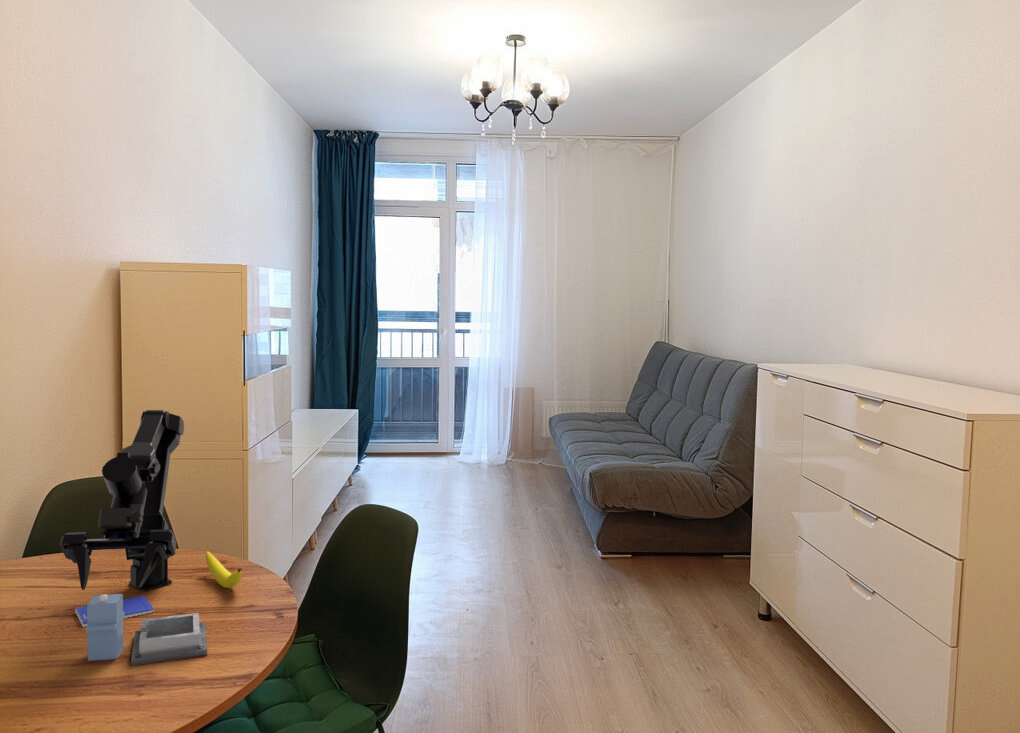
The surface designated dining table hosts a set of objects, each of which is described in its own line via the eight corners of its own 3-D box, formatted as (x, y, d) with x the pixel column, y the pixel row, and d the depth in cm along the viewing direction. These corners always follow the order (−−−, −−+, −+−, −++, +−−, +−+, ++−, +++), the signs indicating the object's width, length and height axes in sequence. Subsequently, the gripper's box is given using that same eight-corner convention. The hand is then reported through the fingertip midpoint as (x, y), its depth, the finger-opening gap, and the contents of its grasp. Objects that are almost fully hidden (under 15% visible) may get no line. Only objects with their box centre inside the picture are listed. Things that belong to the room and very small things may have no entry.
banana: (213, 570, 175) (213, 543, 174) (247, 596, 160) (247, 567, 160) (200, 573, 173) (200, 546, 172) (233, 600, 158) (233, 570, 158)
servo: (96, 647, 135) (95, 587, 134) (124, 645, 136) (124, 586, 135) (86, 663, 130) (85, 600, 129) (115, 661, 131) (114, 599, 130)
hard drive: (82, 622, 143) (153, 607, 151) (75, 607, 150) (143, 594, 157) (82, 630, 143) (153, 615, 151) (75, 614, 150) (143, 601, 157)
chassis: (135, 636, 140) (135, 617, 140) (205, 627, 145) (205, 609, 145) (131, 665, 129) (131, 645, 129) (207, 654, 134) (207, 635, 134)
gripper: (62, 489, 137) (40, 569, 128) (173, 487, 142) (160, 564, 132) (76, 520, 146) (57, 597, 136) (181, 517, 150) (170, 592, 140)
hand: (111, 587), depth 136 cm, fingers open, 9 cm apart
